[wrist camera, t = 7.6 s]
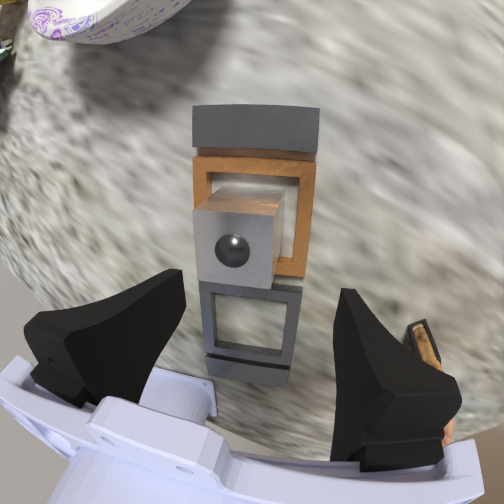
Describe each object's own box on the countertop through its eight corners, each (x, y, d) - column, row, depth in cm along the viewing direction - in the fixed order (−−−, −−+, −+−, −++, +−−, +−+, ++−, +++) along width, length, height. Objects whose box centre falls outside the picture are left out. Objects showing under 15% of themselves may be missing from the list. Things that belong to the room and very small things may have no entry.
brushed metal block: (224, 241, 23) (196, 281, 17) (223, 185, 21) (191, 210, 15) (281, 247, 22) (270, 290, 17) (284, 189, 20) (273, 216, 15)
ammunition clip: (431, 382, 25) (451, 470, 15) (417, 387, 26) (433, 476, 16) (425, 317, 22) (463, 426, 12) (407, 324, 23) (438, 436, 12)
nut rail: (210, 368, 30) (208, 374, 29) (197, 106, 18) (192, 106, 18) (287, 381, 29) (286, 388, 28) (319, 109, 17) (319, 108, 16)
